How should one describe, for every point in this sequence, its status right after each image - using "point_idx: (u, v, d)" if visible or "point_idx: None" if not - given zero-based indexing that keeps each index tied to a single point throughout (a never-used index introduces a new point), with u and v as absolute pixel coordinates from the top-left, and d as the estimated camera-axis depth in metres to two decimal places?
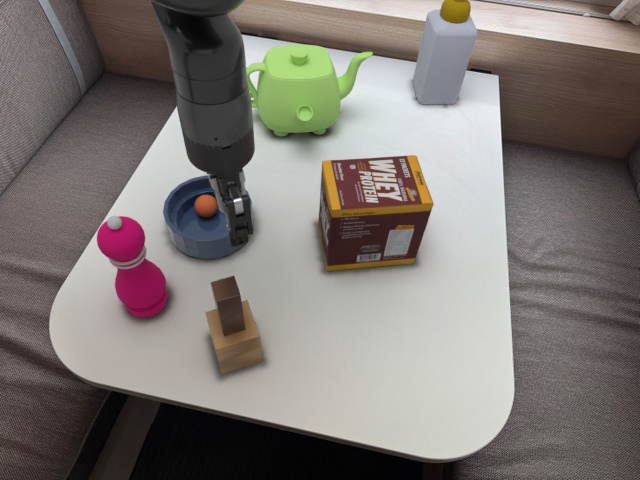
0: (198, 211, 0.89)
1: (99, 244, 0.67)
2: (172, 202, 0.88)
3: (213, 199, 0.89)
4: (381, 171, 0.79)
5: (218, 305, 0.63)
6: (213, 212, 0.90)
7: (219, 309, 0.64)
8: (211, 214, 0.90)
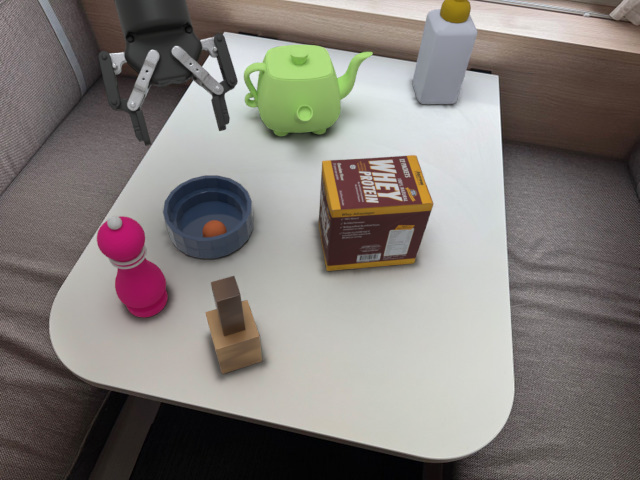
0: None
1: (99, 244, 0.67)
2: (172, 202, 0.88)
3: None
4: (381, 171, 0.79)
5: (218, 305, 0.63)
6: None
7: (219, 309, 0.64)
8: None
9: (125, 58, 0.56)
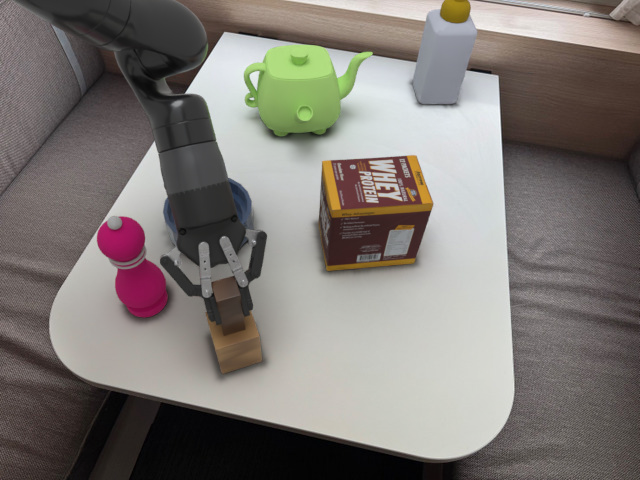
0: None
1: (99, 244, 0.67)
2: None
3: None
4: (381, 171, 0.79)
5: (218, 305, 0.63)
6: None
7: (219, 309, 0.64)
8: None
9: (177, 248, 0.62)
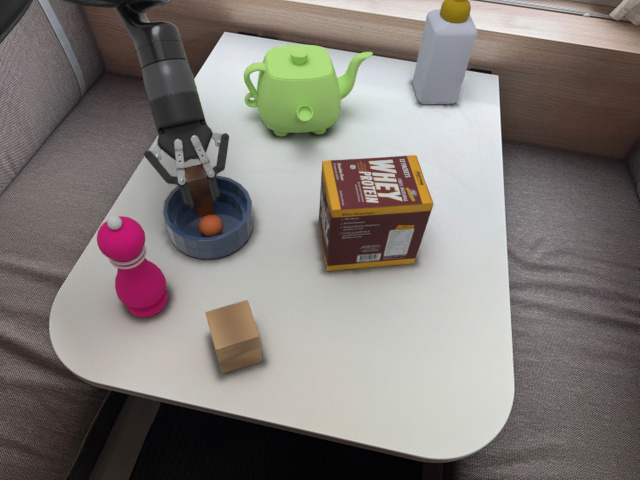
0: None
1: (99, 244, 0.67)
2: (172, 202, 0.88)
3: (221, 231, 0.88)
4: (381, 171, 0.79)
5: (189, 185, 0.80)
6: None
7: (190, 189, 0.81)
8: None
9: (158, 145, 0.79)
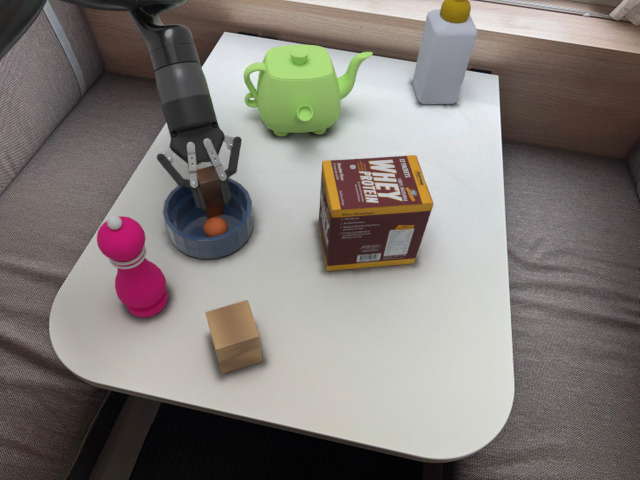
0: None
1: (99, 244, 0.67)
2: (172, 202, 0.88)
3: None
4: (381, 171, 0.79)
5: (201, 187, 0.80)
6: None
7: (202, 191, 0.81)
8: None
9: (170, 147, 0.79)
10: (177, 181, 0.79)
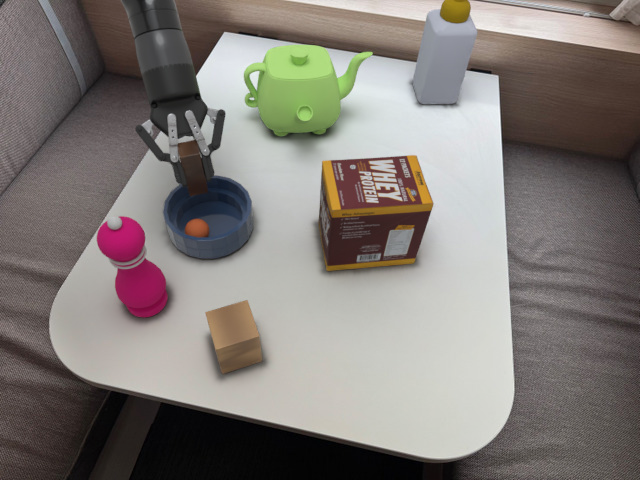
0: None
1: (99, 244, 0.67)
2: (172, 202, 0.88)
3: (205, 223, 0.86)
4: (381, 171, 0.79)
5: (181, 161, 0.76)
6: None
7: (183, 166, 0.77)
8: None
9: (150, 119, 0.75)
10: (156, 155, 0.76)
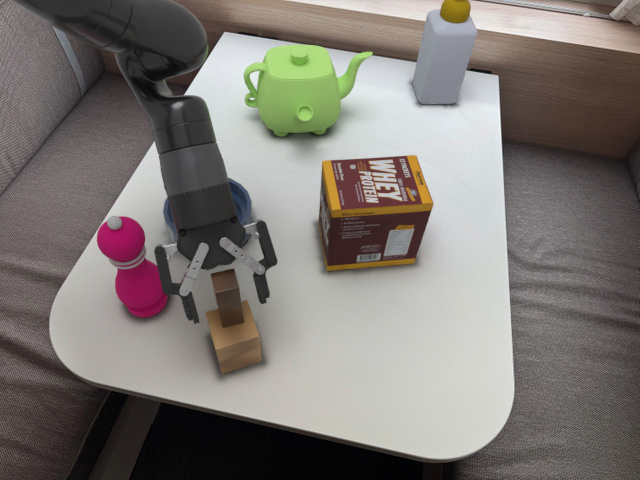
0: None
1: (99, 244, 0.67)
2: None
3: None
4: (381, 171, 0.79)
5: (216, 296, 0.64)
6: None
7: (217, 300, 0.64)
8: None
9: (177, 249, 0.62)
10: (163, 286, 0.62)
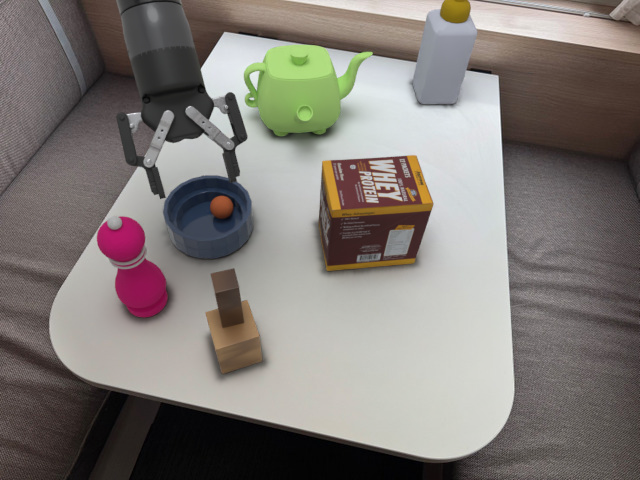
0: (220, 202, 0.88)
1: (99, 244, 0.67)
2: (172, 202, 0.88)
3: (221, 218, 0.90)
4: (381, 171, 0.79)
5: (216, 296, 0.64)
6: (211, 210, 0.89)
7: (217, 300, 0.64)
8: (210, 208, 0.89)
9: (141, 118, 0.60)
10: (126, 156, 0.59)
